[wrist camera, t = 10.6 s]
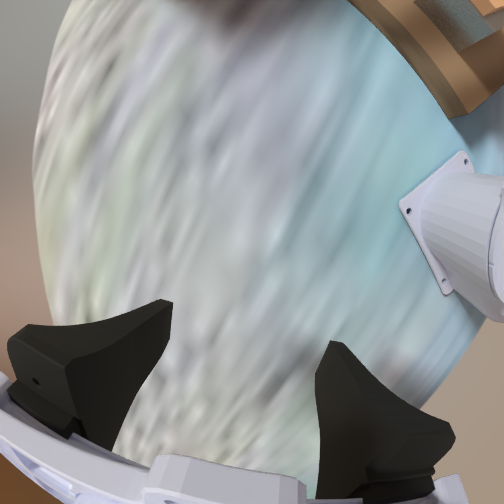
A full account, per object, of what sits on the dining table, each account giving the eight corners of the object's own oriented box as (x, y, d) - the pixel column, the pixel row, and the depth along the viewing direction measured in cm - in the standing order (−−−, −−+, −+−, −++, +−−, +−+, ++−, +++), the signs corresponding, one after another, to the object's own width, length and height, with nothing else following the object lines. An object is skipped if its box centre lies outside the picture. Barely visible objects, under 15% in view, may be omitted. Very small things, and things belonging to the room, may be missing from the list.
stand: (510, 68, 13) (527, 63, 10) (448, 118, 16) (468, 114, 13) (427, -32, 11) (437, -46, 8) (342, -4, 14) (349, -23, 11)
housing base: (457, 53, 12) (494, 32, 7) (413, 2, 11) (439, -29, 6) (496, 30, 10) (527, 14, 5) (459, -14, 9) (484, -36, 4)
